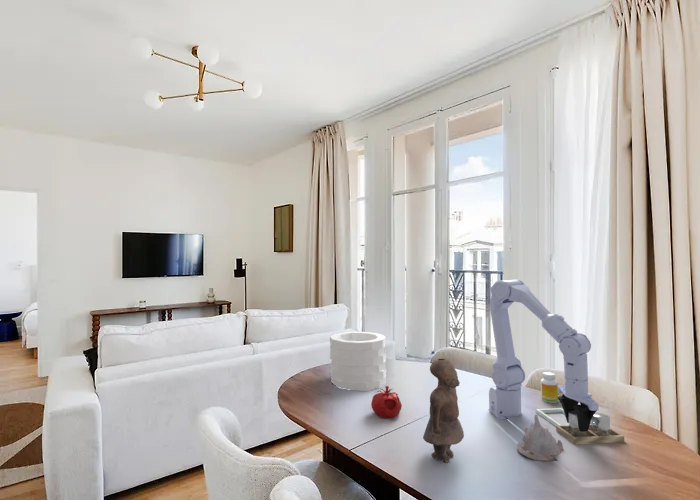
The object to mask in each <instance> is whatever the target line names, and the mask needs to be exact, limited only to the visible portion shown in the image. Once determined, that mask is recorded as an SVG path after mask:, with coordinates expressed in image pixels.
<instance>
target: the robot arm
mask: <svg viewBox="0 0 700 500" xmlns="http://www.w3.org/2000/svg"><path fill="white" fill-rule="evenodd" d="M490 295H491V296H490V299H489V300H490V301H489V309H490V311H489V312H490V317H491V324H492V330H493V335H494V337H493V338H494V343H495V349H496V350H495V351H496V357H497V358H496V359H495V360H494V362H493V363H492V372H491V379H492V381H493V383H494V385H495V386H494V387H490V388H489V391H488V402H489V403H488V404H489V405H488V406H489V407H488V411H489V412H491V414H492V415H493V416H495V417H496V418H497V419H499V420H505V419H506V420H508V419H509V418H508V417H518V416H520V415H522V390H521V389H522V383H524V382H525V380H526V373H525V371H524V368H523V367H522V363H521V361H520V359H519V358H518V357H517V356H516V353H515V347H514V341H513V334H512V329H511V323H510V316H509V310H508V309H509V308H510V306H512V305H513V303H514V302H515V303H519V304H520V303H521V304H522V305H523V306H524V307H525V308H527V309H528V311H530V312H531V313H532V314H534V316H535V317H537V318H538V319H539V320H540V321H541V327H542V328H543V330H545V331H546V332H547V333H548V334H549V335H550V337H551V338H552V339H554V341H556V342H557V344H558V349H559V350H560V352H561V354H562V356H563V371H564V372H563V373H564V374H563V375H564V377H563V378H564V380H563V381H564V385H562V384H561V385H560V384H559V385H557V392H558V394H562V395H558V402H559V403H560V405H561V408H562V409H563V410H564V413H565V415H564V416H565V419H566V423H567V424H569V411H575V412H576V415H577V419H578V427H579V431H581V432H585V431H588V429H589V426H590V422H591V419H592V417H593V415H594V414H595V413H597V412H598V411H599V403H598V401H595V400H594V399H593V397H592V396H593V394H592V393H591V392H589V376H588V375H589V371H588V370H589V369H588V353H589V352H590V351H591V348H592V343H591V341H590V339H589V338H588V337H587V335H586V334H583V333H579V332H578V331H577V330H576V329H575V328H573V327H572V326H570V325H569V324H568V323H567V322H566V321H565V317H564V316H562V315H559V314H557V313H551V312H550V311H549V310H548V308H546V307H545V306H544V304H543V303H542V302H541V301H540V300H539V299H538V298H537V297H536V296H535V294H534V293H532V291H531V289H530V287H529V286H528V285H527V284H525V283H524V282H523V280H521V279H516V278H515V279H510V280H509V279H507V280H501V279H500V280H497V281H495V282H494V283H493V284H492V285H491V287H490Z"/></svg>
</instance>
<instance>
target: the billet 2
mask: <svg viewBox="0 0 700 500" xmlns="http://www.w3.org/2000/svg"><path fill="white" fill-rule="evenodd" d="M610 428H611V416H609V415H608V414H605V413H601V412H595V414H594V415H593V417H592V419H591V432H593V433H595V434H596V435H598V436H611V434H610Z"/></svg>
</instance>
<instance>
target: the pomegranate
mask: <svg viewBox="0 0 700 500" xmlns="http://www.w3.org/2000/svg"><path fill="white" fill-rule="evenodd" d="M384 386H385V387H384V388H385V390H384V388H380V390H377V391H375V392H374V393H376V394H374V395H373V396H372V399H371V405H370V406H371V409H372V412H374V414H375V415H376V416H378V417H379V418H383V419H393V418H395V417H397V416H399V414H400V412H401V410H402V406H403V405H402V402H401V400H400V398H399V396H398V395H399V393H396V392H393V388H390V389H389V385H384ZM391 391H392V392H391Z"/></svg>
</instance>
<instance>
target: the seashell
mask: <svg viewBox="0 0 700 500" xmlns="http://www.w3.org/2000/svg"><path fill="white" fill-rule="evenodd" d="M524 431H525V433H524V436H523V438H522V439H521V440H522V442H519V443H517V446H516V449H517V452H519V453H520V455H523V456H525V457H527V458H529V459H532V460H534V461H539V462H556V461H557V462H558V459H556V457H554V456H553V455H559V454H561V453H562V450H564V445H563V443H562V441H561V440H559V439H558V440H557V439H556V438H555V437H554V436H553V434H552V432H550V431H549V428H548V427H544V426H542V424H541V423H540V420H539V417H538V414H535V415H534V423H531V425H530V427H529V428H528V427H526V428H525V430H524Z"/></svg>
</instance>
